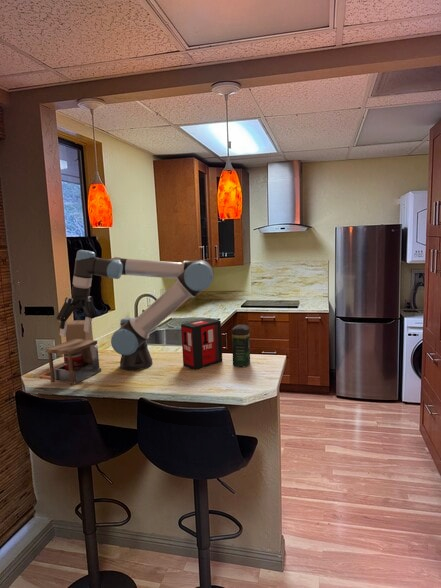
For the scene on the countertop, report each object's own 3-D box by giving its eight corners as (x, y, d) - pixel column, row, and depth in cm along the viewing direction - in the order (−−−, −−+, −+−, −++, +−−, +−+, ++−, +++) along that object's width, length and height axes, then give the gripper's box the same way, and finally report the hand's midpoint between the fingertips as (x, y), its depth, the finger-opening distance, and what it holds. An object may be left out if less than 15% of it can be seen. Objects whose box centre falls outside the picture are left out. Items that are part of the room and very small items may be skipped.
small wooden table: (49, 382, 172) (45, 348, 169) (77, 369, 187) (74, 338, 185) (72, 386, 166) (69, 351, 164) (99, 372, 182) (97, 340, 180)
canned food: (70, 374, 181) (67, 351, 179) (87, 374, 180) (85, 350, 179) (62, 380, 173) (60, 356, 171) (81, 380, 173) (78, 355, 171)
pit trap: (74, 371, 185) (73, 369, 185) (55, 379, 175) (55, 378, 175) (57, 369, 189) (57, 367, 188) (38, 377, 179) (38, 375, 179)
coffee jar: (248, 368, 179) (247, 328, 176) (231, 367, 181) (229, 328, 178) (251, 361, 188) (250, 323, 185) (235, 361, 190) (233, 323, 187)
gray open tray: (54, 380, 174) (51, 346, 171) (74, 371, 184) (71, 339, 182) (90, 385, 166) (87, 350, 163) (109, 375, 176) (106, 342, 174)
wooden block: (95, 357, 205) (92, 319, 202) (87, 363, 195) (83, 324, 192) (76, 357, 206) (73, 320, 203) (67, 364, 196) (63, 324, 193)
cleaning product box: (210, 357, 197) (208, 318, 194) (222, 361, 190) (220, 320, 187) (183, 366, 186) (180, 324, 183) (195, 370, 179) (192, 327, 176)
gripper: (95, 283, 184) (89, 327, 187) (51, 285, 161) (45, 335, 164) (108, 287, 180) (101, 332, 184) (64, 289, 158) (58, 340, 161)
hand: (74, 333), depth 174 cm, fingers open, 13 cm apart
